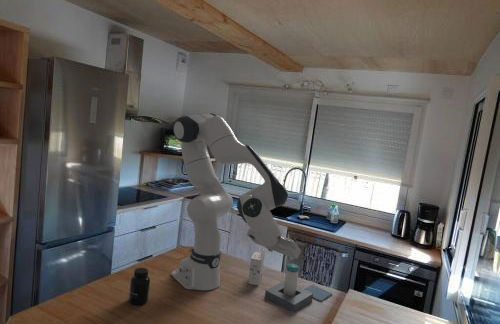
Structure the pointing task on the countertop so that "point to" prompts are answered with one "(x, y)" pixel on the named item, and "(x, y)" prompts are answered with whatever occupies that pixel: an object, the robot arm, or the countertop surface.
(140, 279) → the supplement bottle
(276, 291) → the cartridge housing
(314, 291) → the rubber mat
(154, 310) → the countertop surface
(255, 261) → the ink cartridge box
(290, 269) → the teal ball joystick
